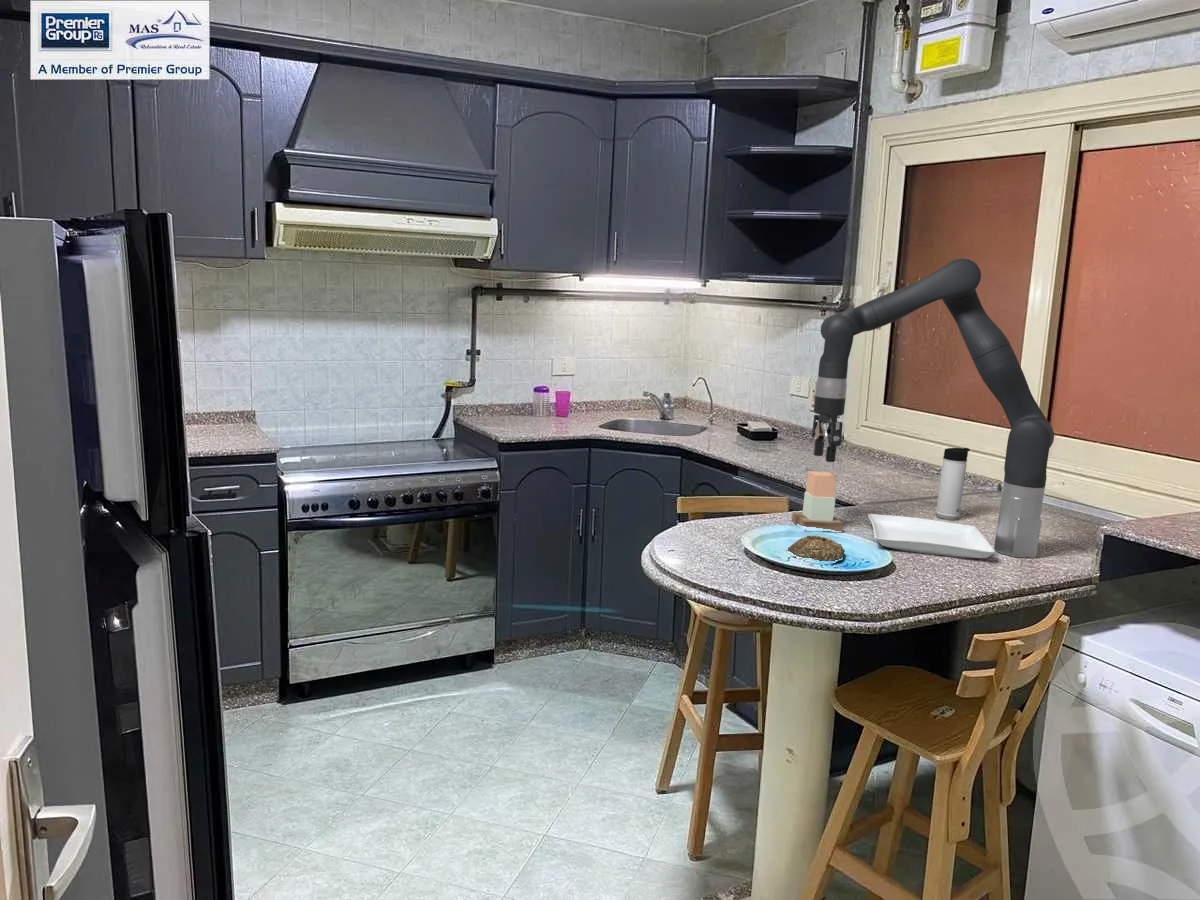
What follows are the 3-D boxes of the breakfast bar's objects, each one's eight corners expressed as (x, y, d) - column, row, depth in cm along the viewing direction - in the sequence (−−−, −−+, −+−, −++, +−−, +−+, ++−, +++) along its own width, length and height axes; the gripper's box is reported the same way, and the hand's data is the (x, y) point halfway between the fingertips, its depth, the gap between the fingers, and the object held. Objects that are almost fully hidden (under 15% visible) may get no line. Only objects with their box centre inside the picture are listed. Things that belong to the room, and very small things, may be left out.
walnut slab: (842, 532, 237) (843, 523, 237) (804, 531, 236) (805, 521, 236) (828, 522, 247) (829, 513, 247) (791, 521, 246) (792, 511, 246)
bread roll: (850, 556, 217) (852, 536, 216) (834, 569, 206) (837, 547, 205) (797, 545, 223) (799, 525, 222) (779, 557, 212) (781, 535, 212)
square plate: (994, 566, 217) (997, 550, 217) (873, 552, 223) (875, 536, 222) (974, 537, 243) (976, 523, 243) (865, 525, 249) (867, 511, 248)
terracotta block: (834, 497, 238) (836, 476, 237) (813, 496, 237) (815, 475, 236) (826, 492, 243) (828, 471, 242) (805, 491, 243) (808, 471, 242)
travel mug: (963, 521, 260) (973, 450, 256) (939, 519, 260) (949, 448, 256) (955, 515, 266) (965, 446, 262) (932, 514, 266) (941, 444, 263)
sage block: (832, 520, 239) (835, 497, 238) (810, 519, 238) (812, 496, 237) (824, 514, 245) (827, 492, 244) (802, 514, 244) (804, 491, 243)
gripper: (855, 399, 229) (848, 464, 232) (834, 392, 243) (828, 454, 246) (826, 398, 228) (819, 463, 231) (806, 391, 242) (800, 453, 245)
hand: (823, 458), depth 238 cm, fingers open, 8 cm apart
